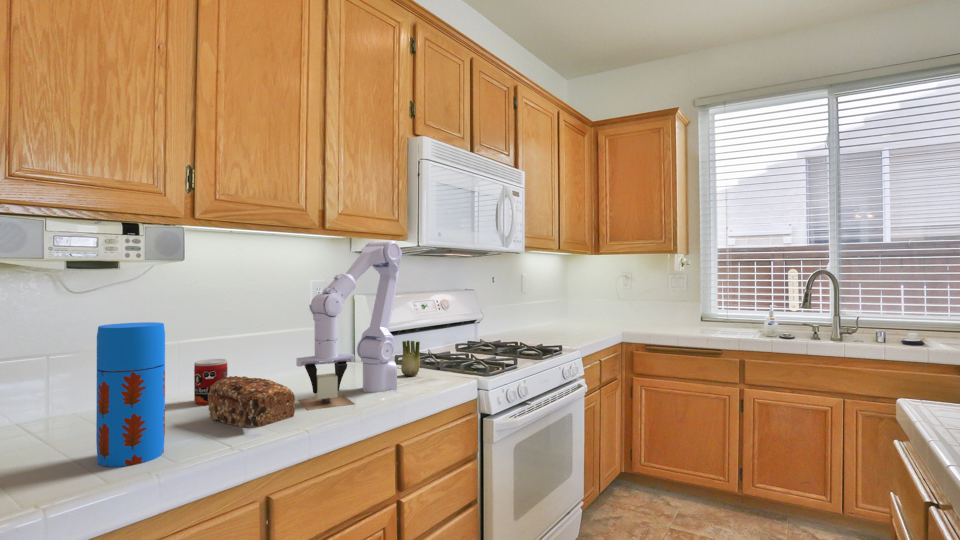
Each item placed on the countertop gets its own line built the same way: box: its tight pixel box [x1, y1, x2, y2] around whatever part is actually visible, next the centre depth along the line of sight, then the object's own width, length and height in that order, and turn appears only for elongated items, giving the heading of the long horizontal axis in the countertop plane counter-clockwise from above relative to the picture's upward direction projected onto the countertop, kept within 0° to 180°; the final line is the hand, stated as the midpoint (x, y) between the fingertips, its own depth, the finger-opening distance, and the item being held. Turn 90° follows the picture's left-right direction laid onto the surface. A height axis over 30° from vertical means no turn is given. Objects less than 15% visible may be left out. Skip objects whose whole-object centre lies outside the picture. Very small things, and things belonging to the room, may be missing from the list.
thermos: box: [95, 321, 166, 468], centre depth 99 cm, size 11×11×25 cm
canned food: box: [193, 358, 228, 406], centre depth 141 cm, size 8×8×11 cm
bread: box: [207, 375, 296, 429], centre depth 123 cm, size 19×11×10 cm, turn 60°
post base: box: [297, 394, 356, 411], centre depth 137 cm, size 12×12×5 cm
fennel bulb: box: [400, 340, 421, 377], centre depth 176 cm, size 6×5×12 cm
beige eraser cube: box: [314, 372, 339, 399], centre depth 137 cm, size 5×5×5 cm
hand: (326, 391), depth 137 cm, fingers closed on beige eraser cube, 5 cm apart
